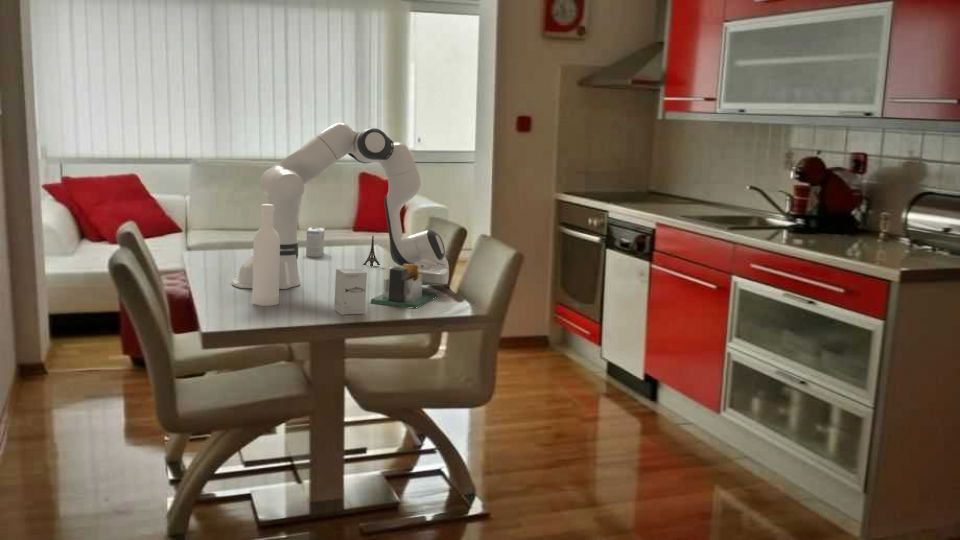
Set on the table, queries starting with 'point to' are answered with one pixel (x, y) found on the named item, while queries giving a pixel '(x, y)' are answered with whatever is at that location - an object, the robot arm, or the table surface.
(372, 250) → the eiffel tower figurine
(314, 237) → the light bulb box
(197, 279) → the table surface
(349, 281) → the supplement box
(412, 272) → the yellow rectangular block
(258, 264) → the bottle
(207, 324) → the table surface
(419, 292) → the heatsink board
